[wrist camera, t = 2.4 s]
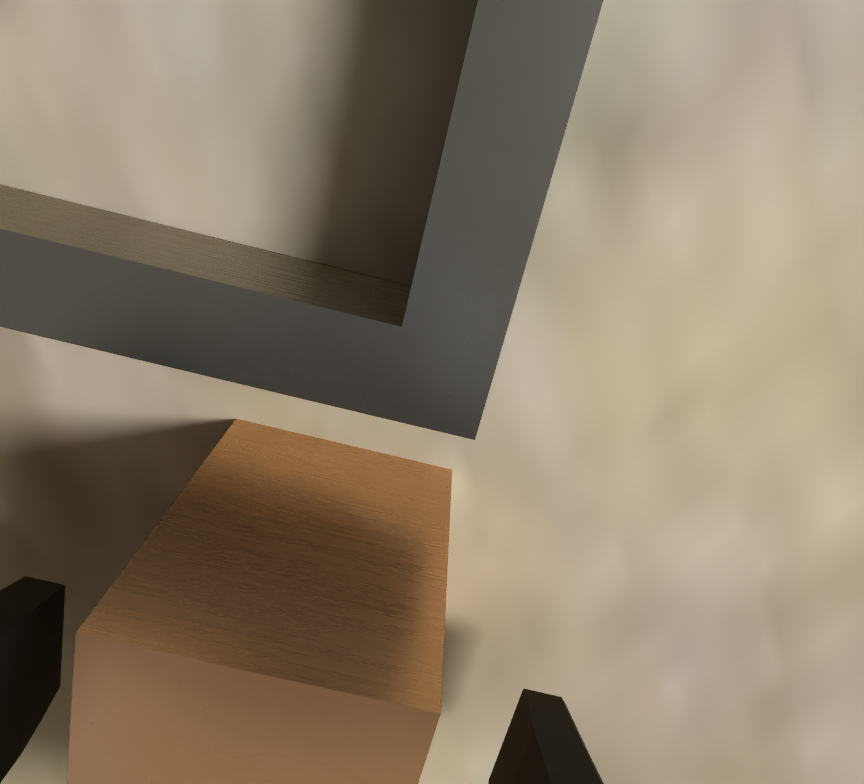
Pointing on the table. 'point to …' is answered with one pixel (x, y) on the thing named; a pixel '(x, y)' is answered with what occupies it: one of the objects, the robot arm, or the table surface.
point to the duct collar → (324, 285)
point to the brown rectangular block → (272, 624)
